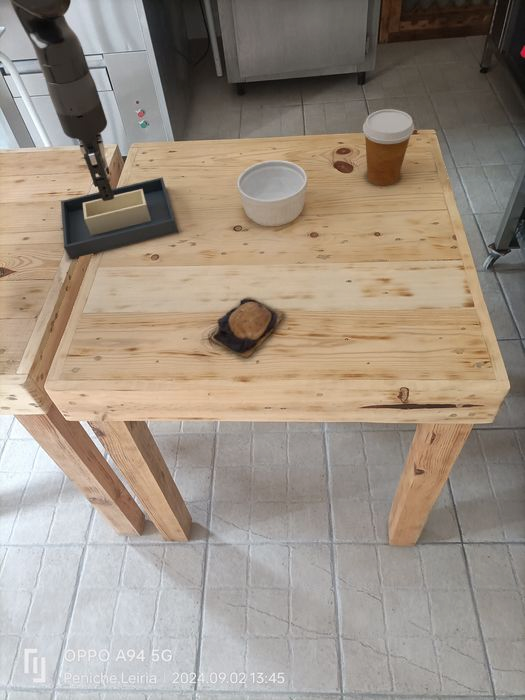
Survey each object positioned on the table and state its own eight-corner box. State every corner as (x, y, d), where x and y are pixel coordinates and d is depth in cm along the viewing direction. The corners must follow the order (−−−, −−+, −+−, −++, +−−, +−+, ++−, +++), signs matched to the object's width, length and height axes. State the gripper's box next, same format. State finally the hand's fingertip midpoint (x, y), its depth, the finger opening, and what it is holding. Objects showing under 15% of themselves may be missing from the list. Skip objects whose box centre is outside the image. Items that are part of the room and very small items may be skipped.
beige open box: (91, 235, 104) (84, 219, 101) (89, 219, 108) (82, 202, 105) (151, 221, 106) (146, 204, 102) (147, 205, 109) (142, 188, 106)
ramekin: (240, 233, 102) (236, 203, 96) (241, 192, 110) (237, 162, 104) (310, 228, 101) (309, 197, 95) (305, 187, 109) (304, 156, 104)
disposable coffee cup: (368, 194, 106) (372, 138, 96) (353, 168, 112) (356, 113, 102) (413, 185, 106) (423, 128, 97) (397, 160, 112) (404, 104, 103)
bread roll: (246, 298, 91) (243, 282, 88) (286, 317, 87) (285, 302, 84) (206, 338, 86) (202, 323, 83) (247, 361, 82) (245, 345, 79)
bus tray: (69, 259, 101) (63, 247, 99) (66, 213, 110) (60, 200, 108) (178, 232, 103) (175, 219, 101) (165, 189, 113) (162, 177, 110)
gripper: (52, 87, 92) (84, 171, 104) (55, 127, 83) (89, 212, 95) (96, 79, 93) (121, 162, 105) (103, 117, 84) (130, 203, 96)
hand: (106, 186), depth 100 cm, fingers open, 8 cm apart
